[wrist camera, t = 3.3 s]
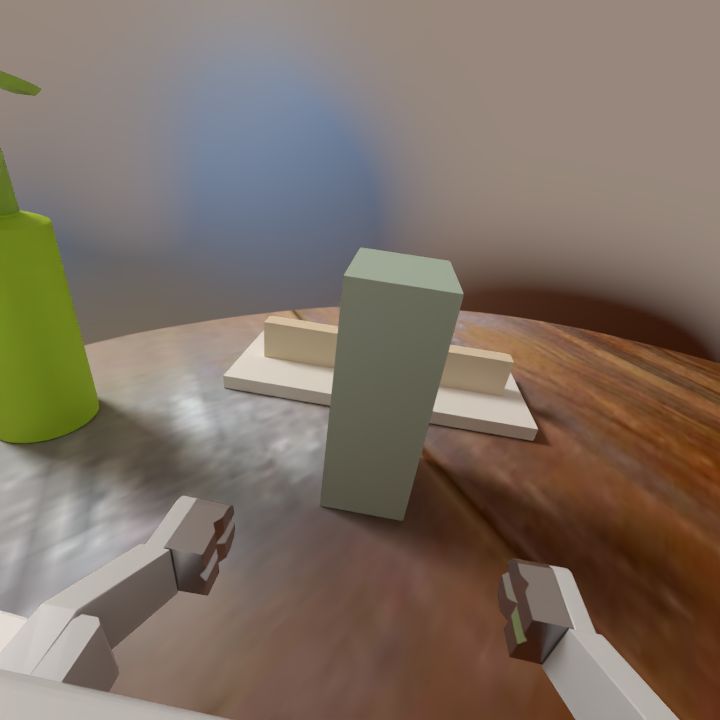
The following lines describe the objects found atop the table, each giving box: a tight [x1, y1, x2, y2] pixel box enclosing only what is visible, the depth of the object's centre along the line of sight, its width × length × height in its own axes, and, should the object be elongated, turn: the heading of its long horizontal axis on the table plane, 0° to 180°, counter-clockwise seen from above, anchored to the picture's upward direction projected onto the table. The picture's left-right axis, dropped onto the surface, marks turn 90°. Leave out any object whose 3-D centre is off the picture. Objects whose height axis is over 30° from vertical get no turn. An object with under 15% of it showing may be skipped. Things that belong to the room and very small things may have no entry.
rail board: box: [223, 316, 538, 441], centre depth 34 cm, size 26×10×5 cm, turn 83°
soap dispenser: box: [0, 71, 99, 443], centre depth 22 cm, size 6×7×20 cm
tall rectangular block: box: [320, 248, 464, 521], centre depth 21 cm, size 5×6×14 cm
